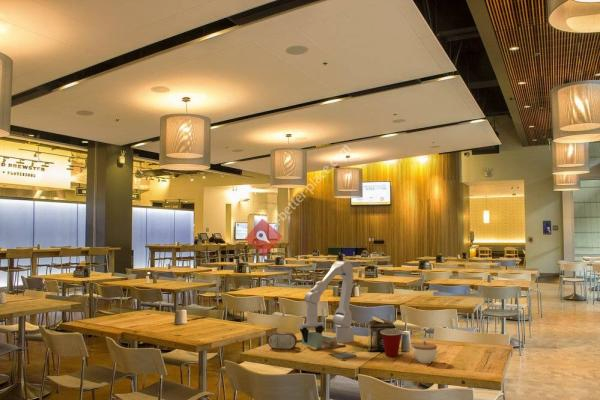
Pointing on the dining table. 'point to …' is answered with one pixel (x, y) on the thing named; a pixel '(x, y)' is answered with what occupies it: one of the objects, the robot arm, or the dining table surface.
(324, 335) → the offcut top
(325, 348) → the rack
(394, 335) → the plastic cup
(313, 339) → the pale green block
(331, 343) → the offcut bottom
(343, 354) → the mat
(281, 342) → the tin
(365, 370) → the dining table surface
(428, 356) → the lidded jar
